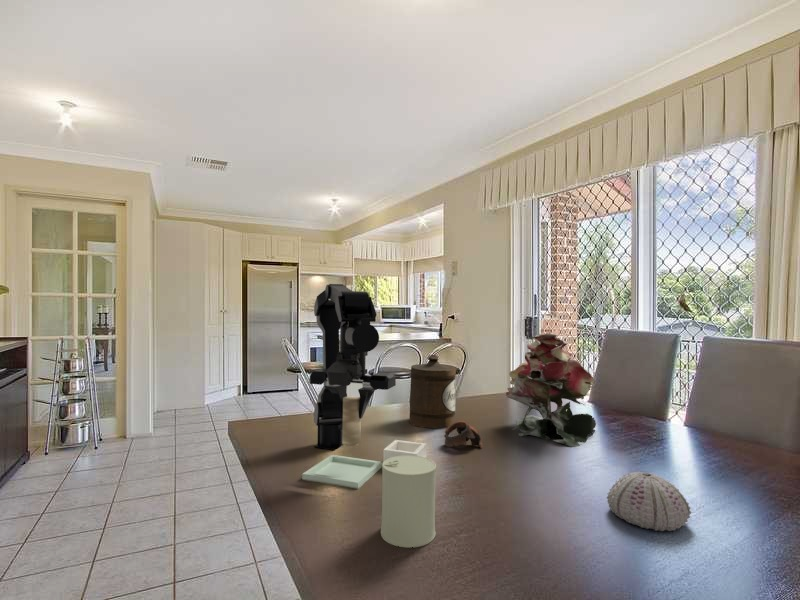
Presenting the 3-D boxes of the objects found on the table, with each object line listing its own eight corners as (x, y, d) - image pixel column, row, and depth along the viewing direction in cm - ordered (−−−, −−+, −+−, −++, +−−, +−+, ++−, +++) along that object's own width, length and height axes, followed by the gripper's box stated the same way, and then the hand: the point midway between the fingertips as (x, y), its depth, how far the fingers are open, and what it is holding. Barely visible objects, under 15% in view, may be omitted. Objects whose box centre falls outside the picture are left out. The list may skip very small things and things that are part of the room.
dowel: (339, 444, 99) (340, 399, 99) (346, 439, 102) (347, 395, 102) (356, 446, 97) (356, 400, 97) (363, 441, 101) (363, 397, 101)
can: (379, 520, 79) (380, 452, 80) (431, 519, 80) (431, 452, 80) (381, 549, 70) (382, 472, 70) (439, 547, 71) (441, 471, 71)
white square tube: (383, 471, 103) (383, 449, 103) (395, 460, 110) (395, 439, 110) (416, 476, 100) (416, 454, 100) (426, 464, 107) (426, 443, 107)
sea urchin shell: (655, 543, 73) (655, 494, 73) (590, 508, 86) (590, 466, 86) (707, 528, 78) (708, 482, 79) (639, 497, 91) (639, 458, 91)
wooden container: (457, 429, 139) (458, 357, 139) (409, 428, 139) (410, 357, 139) (452, 417, 154) (453, 352, 154) (409, 416, 154) (410, 352, 154)
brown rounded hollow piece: (487, 457, 115) (474, 431, 113) (454, 470, 116) (440, 445, 115) (481, 432, 127) (469, 408, 125) (451, 445, 128) (438, 421, 126)
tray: (302, 483, 95) (302, 473, 95) (331, 463, 107) (331, 454, 108) (358, 492, 91) (358, 482, 91) (381, 470, 103) (382, 461, 103)
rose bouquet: (599, 425, 145) (600, 333, 145) (582, 450, 120) (583, 338, 121) (520, 414, 159) (521, 329, 159) (491, 434, 134) (492, 333, 134)
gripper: (297, 348, 95) (295, 422, 95) (379, 352, 89) (378, 431, 89) (321, 344, 106) (320, 410, 106) (396, 347, 100) (395, 418, 100)
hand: (351, 417), depth 100 cm, fingers closed on dowel, 4 cm apart
